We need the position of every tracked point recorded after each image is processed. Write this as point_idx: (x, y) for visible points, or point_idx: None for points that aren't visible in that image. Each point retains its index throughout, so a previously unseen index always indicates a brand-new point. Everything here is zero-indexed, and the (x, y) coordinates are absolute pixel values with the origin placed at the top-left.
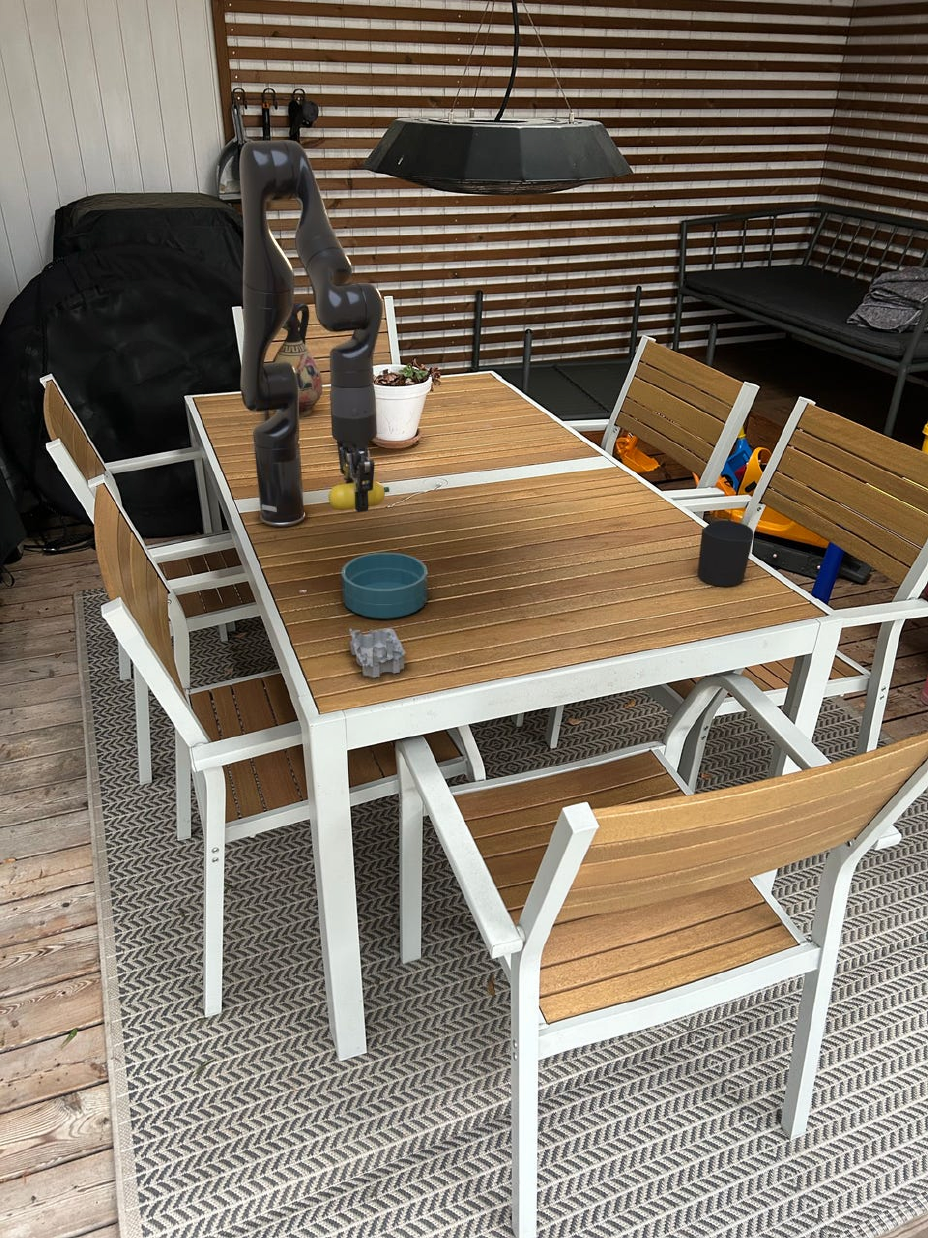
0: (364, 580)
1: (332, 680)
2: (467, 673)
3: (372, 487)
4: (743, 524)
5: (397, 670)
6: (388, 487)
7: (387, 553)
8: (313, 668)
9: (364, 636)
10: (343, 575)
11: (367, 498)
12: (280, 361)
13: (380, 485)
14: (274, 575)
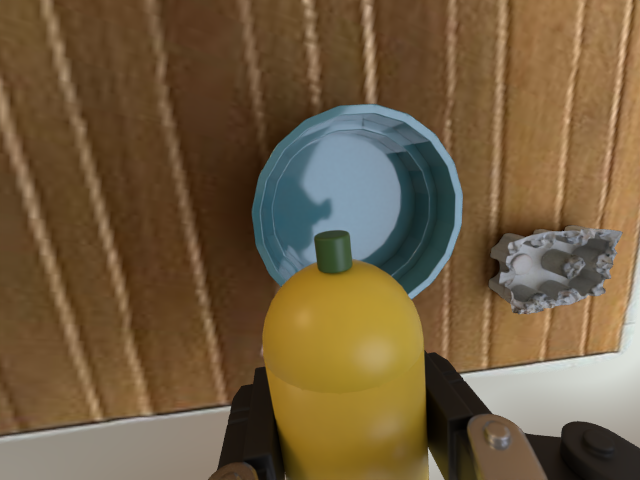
0: (281, 242)
1: (556, 329)
2: (629, 126)
3: (630, 446)
4: None
5: (590, 240)
6: (341, 240)
7: (261, 190)
8: (517, 351)
9: (510, 281)
10: None
11: (446, 380)
12: None
13: (387, 317)
14: (189, 394)
